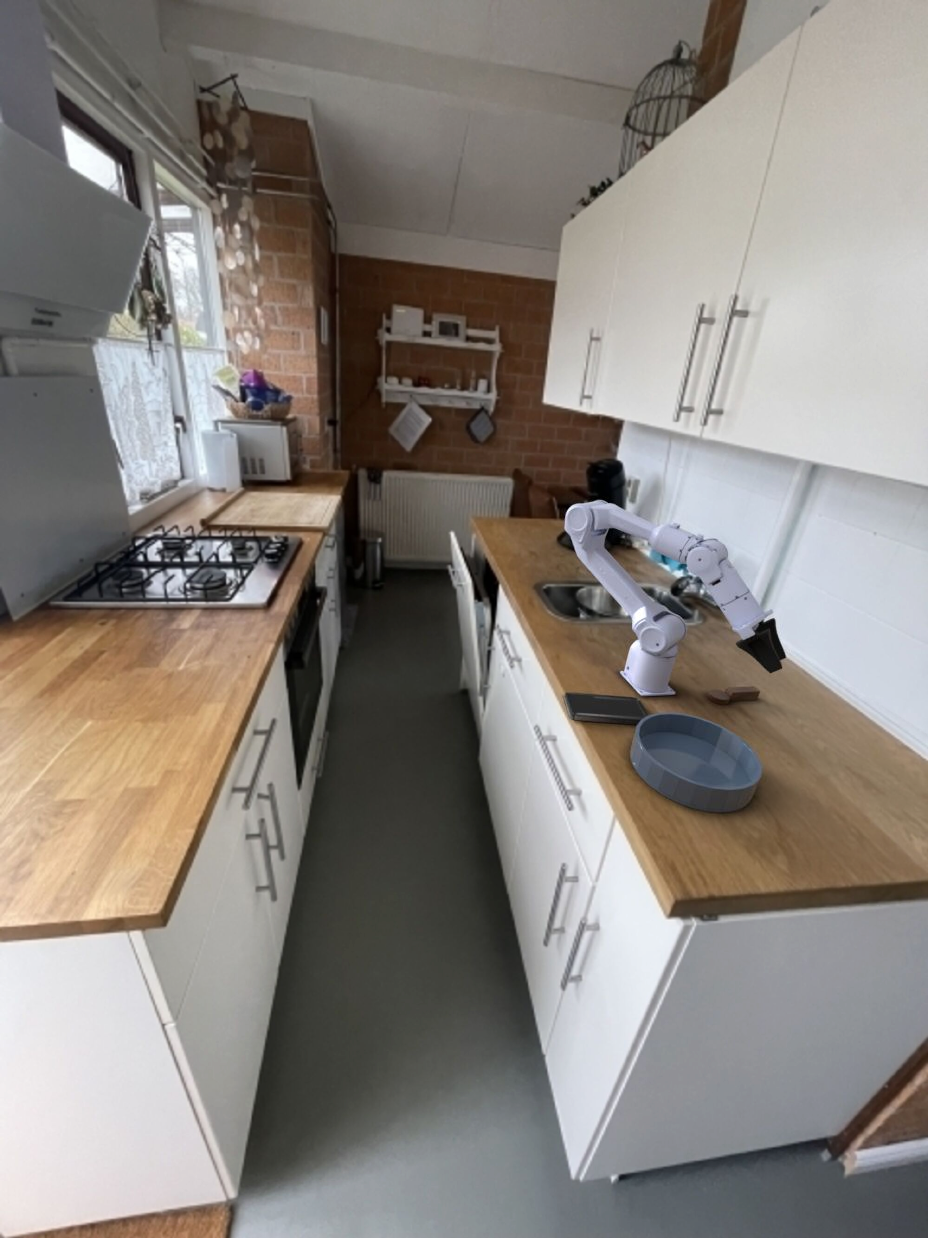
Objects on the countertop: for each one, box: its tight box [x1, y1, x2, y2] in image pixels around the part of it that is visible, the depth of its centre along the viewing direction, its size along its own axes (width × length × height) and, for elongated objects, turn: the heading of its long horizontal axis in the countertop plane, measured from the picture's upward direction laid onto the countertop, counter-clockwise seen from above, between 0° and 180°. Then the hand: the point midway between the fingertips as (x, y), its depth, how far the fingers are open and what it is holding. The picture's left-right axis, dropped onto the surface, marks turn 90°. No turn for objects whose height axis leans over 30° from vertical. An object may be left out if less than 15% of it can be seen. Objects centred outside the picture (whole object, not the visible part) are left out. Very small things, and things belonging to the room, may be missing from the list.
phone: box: [563, 691, 650, 726], centre depth 98 cm, size 8×1×15 cm
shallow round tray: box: [629, 711, 764, 814], centre depth 84 cm, size 19×19×4 cm
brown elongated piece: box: [707, 685, 761, 706], centre depth 106 cm, size 11×4×2 cm, turn 102°
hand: (778, 665), depth 90 cm, fingers open, 7 cm apart
